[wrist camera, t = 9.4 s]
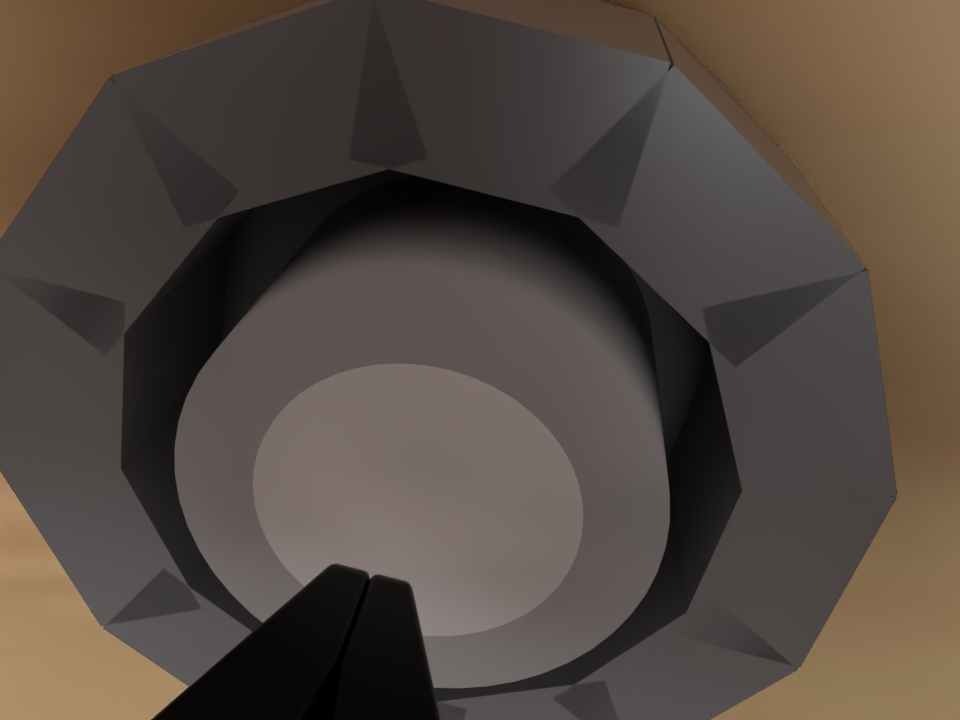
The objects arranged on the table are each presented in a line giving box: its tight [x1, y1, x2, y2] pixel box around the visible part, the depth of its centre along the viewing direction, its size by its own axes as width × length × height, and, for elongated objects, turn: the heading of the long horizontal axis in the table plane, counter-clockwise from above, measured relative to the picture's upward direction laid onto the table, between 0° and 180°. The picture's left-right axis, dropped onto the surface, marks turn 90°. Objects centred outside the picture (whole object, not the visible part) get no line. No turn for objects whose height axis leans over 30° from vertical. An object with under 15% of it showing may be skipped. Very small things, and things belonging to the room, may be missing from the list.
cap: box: [174, 176, 670, 688], centre depth 12 cm, size 6×6×4 cm
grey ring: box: [0, 0, 897, 720], centre depth 13 cm, size 11×11×4 cm
